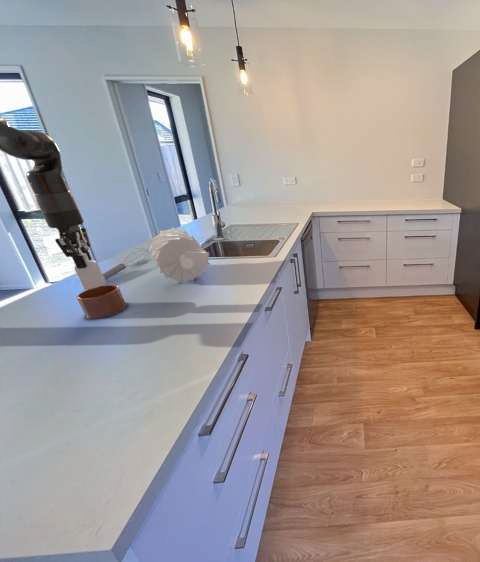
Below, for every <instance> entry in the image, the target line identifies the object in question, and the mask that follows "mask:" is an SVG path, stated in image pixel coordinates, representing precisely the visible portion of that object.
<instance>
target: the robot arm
mask: <svg viewBox="0 0 480 562" xmlns="http://www.w3.org/2000/svg"><path fill="white" fill-rule="evenodd" d="M0 151H1V152H2V153H4V154H6V155H7V156H11V157H13V158H16V159H19V160H25V161H31V162H32V169H31V170H28V171H27V172H26V173H25V177H26V180H27V182H28V184H29V186H30V188H31V190H32V193H33V194H34V197H35V200H36V201H35V202H36V204H37V205H38V208H39V210H40V212H41V214H42V216H43V218H44V221H45V222H46V224H47V226H48V227H49V228H51V229H57V232H58V235H59V238H55V243H56V244H57V246H58V247H59V249H60V250H61V251H62V254H64V256H65V257H66V258H72V260H73V262H74V265H76V267H77V268H78V269H81V268H86V267H87V264H86V262H85V260H84V257H83V255H82V253H86V254H87V256H88V259H89V260H93V258H92V256H91V254H90V248H91V242H90V239H89V236H88V232H87V231H88V230H87V228H85V227H80V226H81V225H83V224H84V223H85V221H84V217H83V216H82V214H81V212H80V209H79V206H78V205H77V202H76V199H75V198H74V197H73V195H72V192H71V191H70V188H69V187H68V184H67V182H66V180H65V178H64V175H63V165H62V157H61V153H60V149H59V147H58V145H57V143H56V141H55V140H54V139H53V138H52V137H51V136H50V135H48V134H47V133H45V132H43V131H40V130H31V129H19V128H16V127H12V126H10V124H9V122H8V121H7V120H6V119H5V118H3V117H2V116H0ZM81 251H82V253H81Z"/></svg>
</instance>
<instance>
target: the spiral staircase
mask: <svg viewBox="0 0 480 562" xmlns="http://www.w3.org/2000/svg"><path fill="white" fill-rule="evenodd" d="M150 240H151V241H152V243H151V246H150V248H149V249H148V251H149V252H151V253H152V255H151V257H152V258H153V260H154V262H156V267H157V268H158V269H159V272H160V273H161V274H163V275H164V276H165V277H164V278H166V279H168V278H171V279H173V280H175V281H177V282H179V283H181V282H182V281H194V280H195V279H196V278H198V277H200V276H202V275H205V271H206V270H207V268H208V267H209V266H210V265H211V262H209V259H210V252H208V251H206V249H202V244H200V243H199V241H197V239H195V238H194V236H193V235H190V234H189V233H188V232H187V231H186V230H185V229H182V230H180V229H177V228H175V227H171V228H170V229H167V230H166V229H165V230H159V233H158V234H157V235H156V236H154V237H152V238H151V239H150Z"/></svg>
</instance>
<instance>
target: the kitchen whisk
mask: <svg viewBox="0 0 480 562" xmlns="http://www.w3.org/2000/svg"><path fill="white" fill-rule="evenodd" d="M141 251H142V252H143V251H144V252H143V253H141V254H140V255H138V256H136V257H134V258H133V259H131V258H132V256H134V254H137V253H138V252H141ZM152 253H153V252H152V251H149V249H148V248H147V247H145V249H144V247H141V248H140V247H138V248H137V250H135V251H130V253H129V254H128V255H127V256H126V258H124V260H123V261H122V263H121V262H120V263H119V264H117V265H115V266H113V267H112V268H110V269H108V270H106V271H105V272H102V274H103V276H104V278H105V281H107V280H109V279H110V278H112V277H114V276H115V275H117V274H119V273H120V272H122V271H124V270H125V269H126V268H128V267H129V268H131V267H134V266H139V265H141V264H142V262H144V261H145V262H146V261H148V260H149V259H150V257H151V256H152ZM143 255H145V258H143V259H141V262H140V261H137V262H134V263H132V264H130V263H131V262H133V261H135V260H137V259H138V258H140V257H142V256H143ZM147 256H148V257H147ZM127 258H128V259H131V260H129V261H128V262H126V261H127V260H128V259H127Z"/></svg>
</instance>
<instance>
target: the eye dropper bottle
mask: <svg viewBox="0 0 480 562" xmlns="http://www.w3.org/2000/svg"><path fill="white" fill-rule="evenodd" d="M81 253H82V251H81ZM82 255H83V257H84V260H85V262H86V264H87V267H86V268H81V269H78V268H77V267H76V265H75V264H73V270H74V272H75V274H76V276H77V278H78V281H79V283H80V285H81V287H82V288H83V290H84V291H86V290H88V289H93V288H97V287H100V286H104V285H107V280H105V278H104V276H103V271H102V269H101V267H100V265H99V263H98V261H96V260H93V259H92V260H89V259H88V256H87V254H86V253H82Z"/></svg>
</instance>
